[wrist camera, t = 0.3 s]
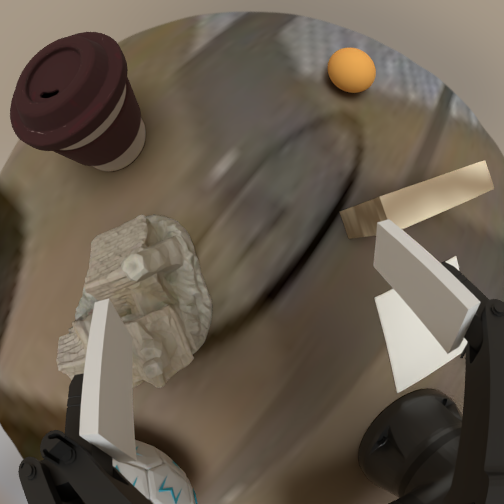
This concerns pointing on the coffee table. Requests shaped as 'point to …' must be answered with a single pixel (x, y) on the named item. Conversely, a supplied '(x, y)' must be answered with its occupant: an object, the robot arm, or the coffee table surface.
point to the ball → (351, 70)
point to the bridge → (418, 200)
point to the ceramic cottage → (144, 298)
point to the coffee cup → (79, 103)
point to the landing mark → (410, 340)
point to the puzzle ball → (157, 476)
